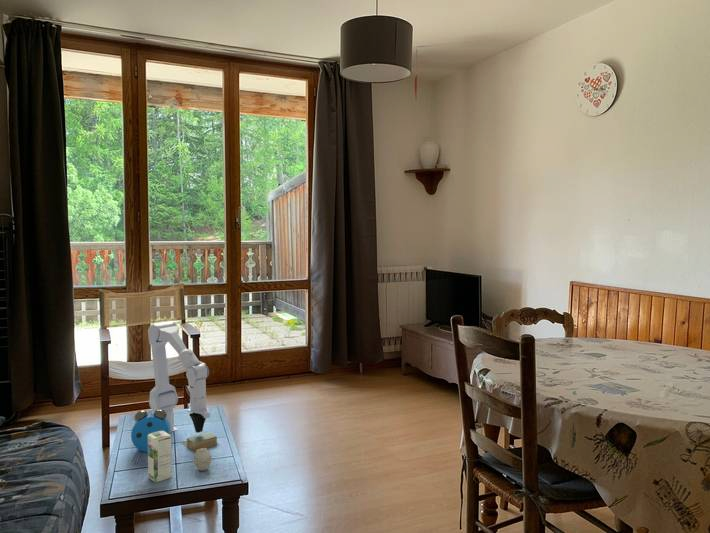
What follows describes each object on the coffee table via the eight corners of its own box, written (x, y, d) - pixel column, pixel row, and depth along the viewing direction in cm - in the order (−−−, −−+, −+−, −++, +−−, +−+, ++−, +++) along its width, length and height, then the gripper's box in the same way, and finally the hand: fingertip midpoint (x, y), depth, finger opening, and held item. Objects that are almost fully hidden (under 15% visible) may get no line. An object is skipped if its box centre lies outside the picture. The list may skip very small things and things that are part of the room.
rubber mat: (180, 443, 203) (180, 442, 203) (205, 436, 209) (205, 435, 209) (193, 453, 194) (193, 452, 194) (219, 445, 201) (219, 444, 201)
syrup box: (147, 477, 175) (146, 434, 174) (165, 471, 179) (163, 429, 178) (155, 483, 171) (153, 439, 170) (172, 477, 175) (171, 434, 174)
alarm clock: (171, 444, 201) (170, 405, 200) (169, 451, 195) (168, 411, 194) (134, 448, 199) (133, 408, 198) (131, 454, 193) (129, 414, 192)
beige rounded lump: (209, 463, 185) (208, 444, 185) (214, 471, 179) (214, 451, 179) (191, 467, 182) (190, 447, 182) (196, 475, 176) (195, 455, 176)
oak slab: (186, 438, 199) (193, 442, 195) (209, 431, 205) (216, 436, 201) (187, 445, 199) (194, 450, 195) (209, 439, 205) (216, 444, 201)
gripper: (179, 394, 203) (180, 428, 204) (196, 403, 193) (197, 440, 194) (197, 390, 208) (198, 424, 209) (214, 399, 197) (215, 435, 198)
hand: (199, 431), depth 202 cm, fingers closed
